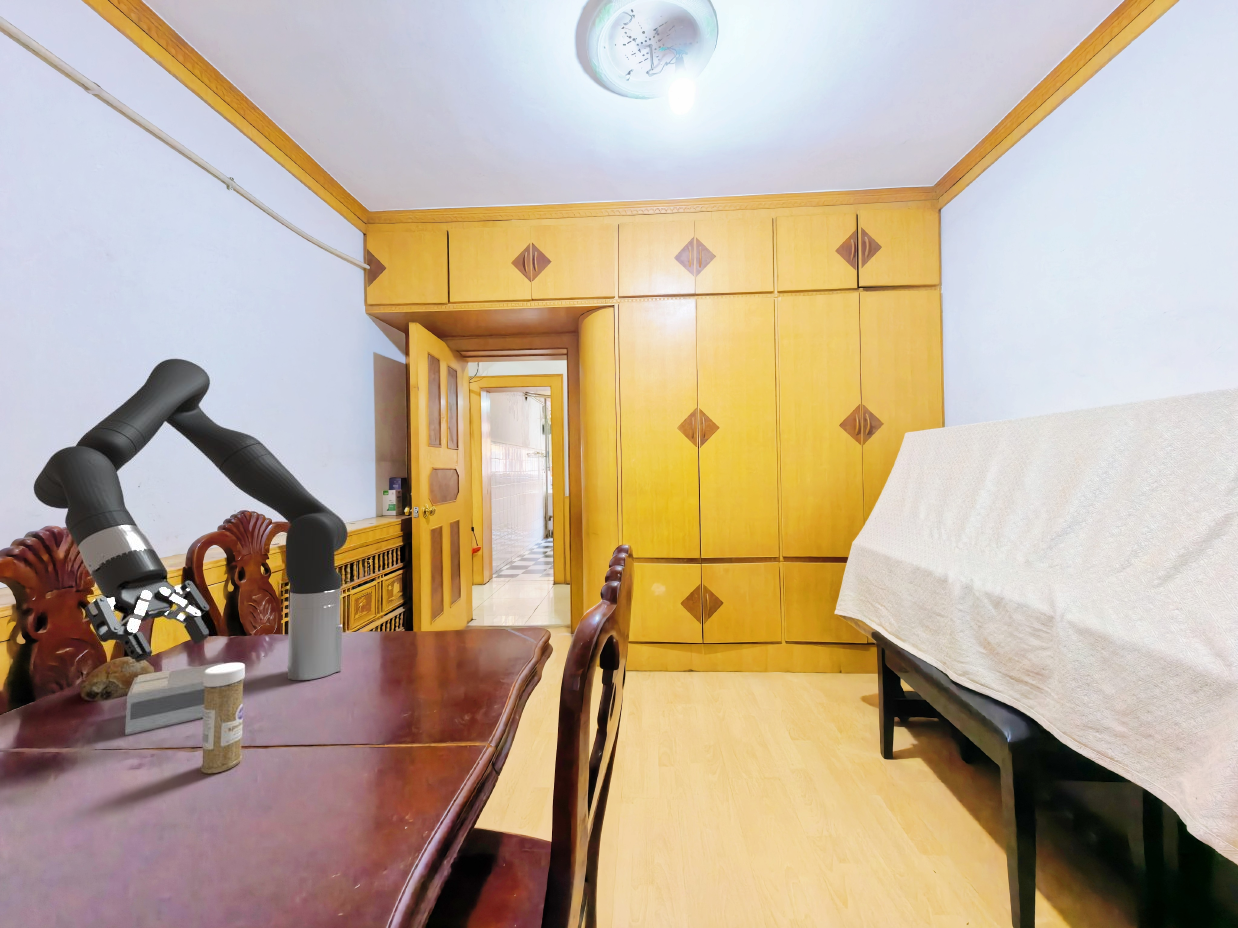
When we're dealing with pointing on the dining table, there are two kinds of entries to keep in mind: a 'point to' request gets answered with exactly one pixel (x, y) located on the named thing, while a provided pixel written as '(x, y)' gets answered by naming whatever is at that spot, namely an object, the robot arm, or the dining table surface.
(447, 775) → the dining table surface
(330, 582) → the robot arm
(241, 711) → the sprinkles bottle
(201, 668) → the box
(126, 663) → the bread roll
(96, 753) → the dining table surface
